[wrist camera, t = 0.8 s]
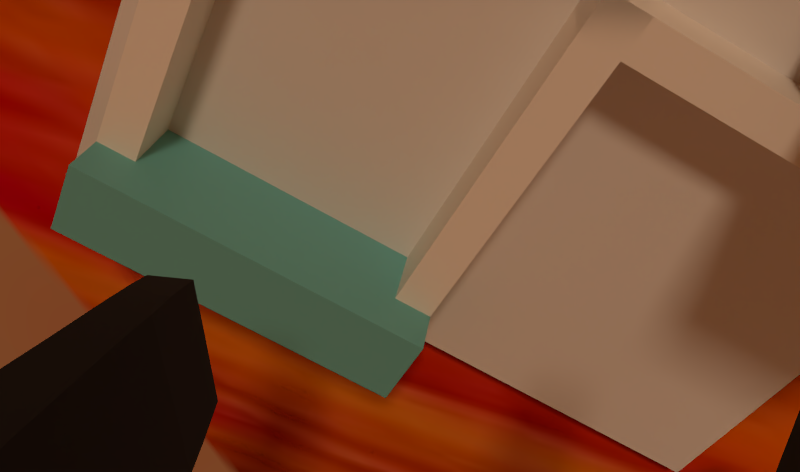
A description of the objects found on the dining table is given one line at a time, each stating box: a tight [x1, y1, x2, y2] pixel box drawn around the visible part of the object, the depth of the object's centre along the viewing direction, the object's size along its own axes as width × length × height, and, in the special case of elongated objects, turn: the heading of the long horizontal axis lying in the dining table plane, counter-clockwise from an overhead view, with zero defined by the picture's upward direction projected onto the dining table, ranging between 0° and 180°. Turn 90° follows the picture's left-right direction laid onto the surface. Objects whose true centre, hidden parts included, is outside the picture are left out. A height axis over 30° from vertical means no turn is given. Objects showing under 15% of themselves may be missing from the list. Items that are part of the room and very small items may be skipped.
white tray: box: [51, 0, 800, 472], centre depth 15 cm, size 20×20×4 cm
